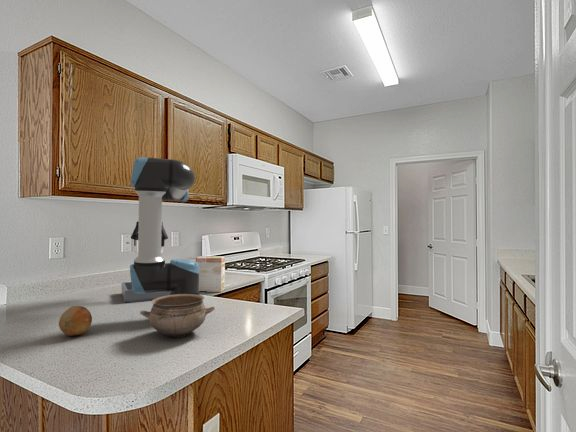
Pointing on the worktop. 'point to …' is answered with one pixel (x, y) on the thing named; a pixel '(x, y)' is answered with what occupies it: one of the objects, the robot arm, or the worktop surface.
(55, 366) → the worktop surface
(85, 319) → the onion
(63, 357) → the worktop surface
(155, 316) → the cooking pot
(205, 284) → the coffeecake box
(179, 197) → the robot arm
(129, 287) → the box
